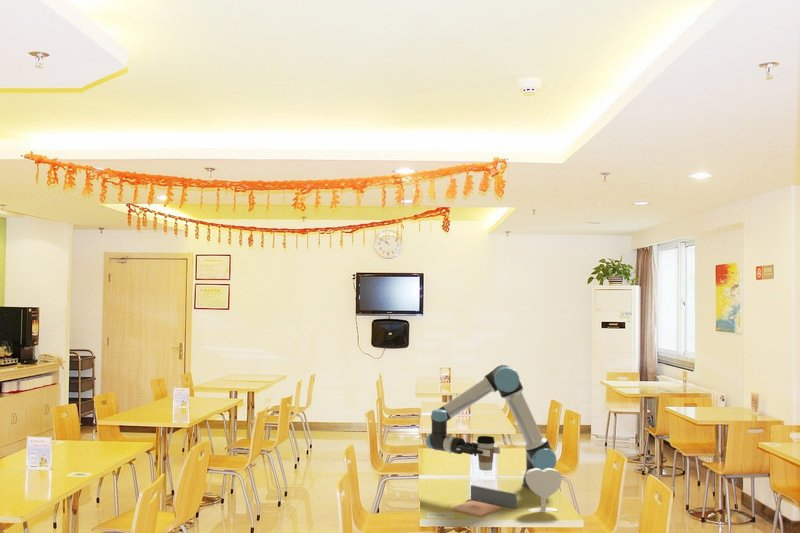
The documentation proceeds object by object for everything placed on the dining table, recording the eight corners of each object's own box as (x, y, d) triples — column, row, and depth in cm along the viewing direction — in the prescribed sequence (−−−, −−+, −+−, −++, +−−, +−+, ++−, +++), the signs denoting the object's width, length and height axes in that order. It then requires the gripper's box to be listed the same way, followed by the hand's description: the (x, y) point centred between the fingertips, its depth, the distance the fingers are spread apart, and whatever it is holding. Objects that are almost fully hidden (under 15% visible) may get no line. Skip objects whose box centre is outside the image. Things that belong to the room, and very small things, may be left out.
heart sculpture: (559, 508, 305) (558, 467, 306) (562, 511, 300) (562, 470, 301) (525, 508, 304) (524, 467, 305) (527, 511, 299) (527, 470, 300)
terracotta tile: (471, 502, 314) (471, 500, 314) (501, 509, 303) (501, 506, 303) (451, 510, 301) (451, 507, 302) (481, 517, 291) (481, 515, 291)
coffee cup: (480, 471, 311) (480, 438, 312) (473, 467, 319) (474, 435, 320) (497, 470, 313) (497, 437, 314) (490, 466, 321) (490, 434, 322)
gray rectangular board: (472, 497, 321) (472, 485, 322) (516, 507, 306) (516, 493, 306) (470, 498, 320) (470, 485, 321) (515, 508, 305) (515, 494, 305)
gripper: (467, 449, 336) (506, 457, 321) (441, 456, 320) (481, 464, 305) (467, 434, 336) (506, 440, 321) (441, 440, 321) (481, 447, 306)
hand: (494, 452), depth 313 cm, fingers closed on coffee cup, 8 cm apart
